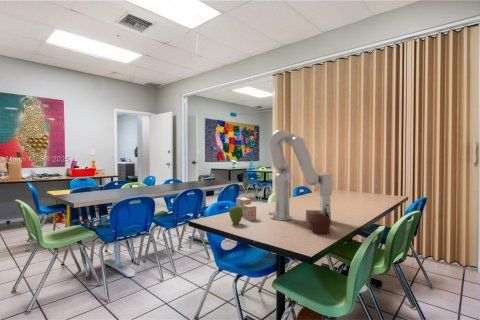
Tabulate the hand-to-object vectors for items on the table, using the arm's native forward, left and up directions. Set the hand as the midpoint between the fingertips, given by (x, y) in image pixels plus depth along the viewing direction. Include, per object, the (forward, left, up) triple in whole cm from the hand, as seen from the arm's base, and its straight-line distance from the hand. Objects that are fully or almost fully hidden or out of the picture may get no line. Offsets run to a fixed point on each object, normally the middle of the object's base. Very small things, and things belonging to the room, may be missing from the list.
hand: (325, 220), depth 174 cm
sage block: (0, 0, -1) cm, 1 cm away
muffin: (-8, -25, -1) cm, 26 cm away
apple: (-57, -9, -1) cm, 58 cm away
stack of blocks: (-52, +11, -1) cm, 53 cm away
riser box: (-9, -13, -1) cm, 16 cm away
